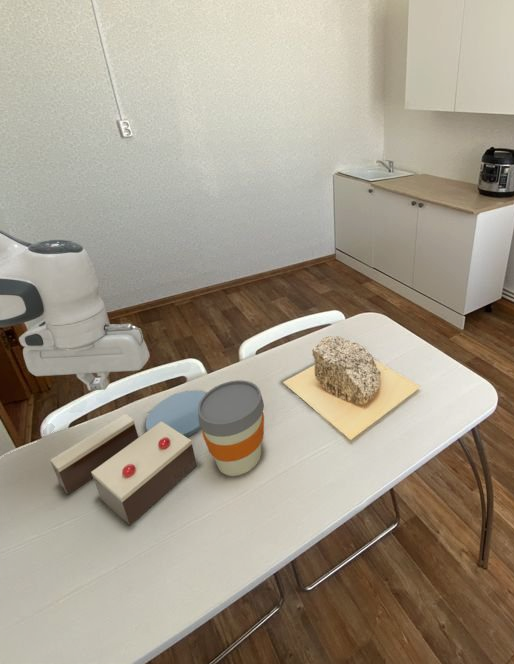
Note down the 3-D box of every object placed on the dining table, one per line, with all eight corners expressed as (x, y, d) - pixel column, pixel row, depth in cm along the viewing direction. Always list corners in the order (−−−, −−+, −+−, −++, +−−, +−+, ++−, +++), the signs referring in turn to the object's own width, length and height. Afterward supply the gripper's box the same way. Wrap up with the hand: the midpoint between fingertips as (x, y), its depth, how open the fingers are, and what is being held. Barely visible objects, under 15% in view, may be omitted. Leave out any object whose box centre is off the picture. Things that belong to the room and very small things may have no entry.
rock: (280, 382, 102) (300, 324, 103) (336, 383, 118) (354, 332, 118) (348, 440, 83) (373, 367, 83) (406, 432, 98) (426, 371, 99)
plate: (133, 425, 90) (131, 421, 89) (188, 386, 102) (187, 383, 101) (172, 452, 83) (171, 448, 82) (227, 407, 95) (226, 403, 94)
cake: (100, 498, 73) (88, 465, 70) (167, 445, 84) (159, 414, 81) (130, 526, 68) (118, 491, 65) (197, 465, 79) (189, 433, 76)
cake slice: (60, 486, 76) (49, 459, 73) (132, 437, 86) (125, 413, 84) (68, 495, 74) (57, 468, 71) (140, 444, 85) (133, 420, 82)
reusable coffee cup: (233, 427, 89) (224, 374, 84) (280, 441, 85) (274, 387, 79) (194, 473, 78) (181, 415, 72) (246, 492, 74) (236, 432, 68)
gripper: (147, 314, 73) (161, 374, 78) (34, 320, 72) (55, 380, 76) (130, 333, 67) (147, 396, 72) (8, 339, 66) (32, 403, 71)
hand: (99, 388), depth 74 cm, fingers closed
